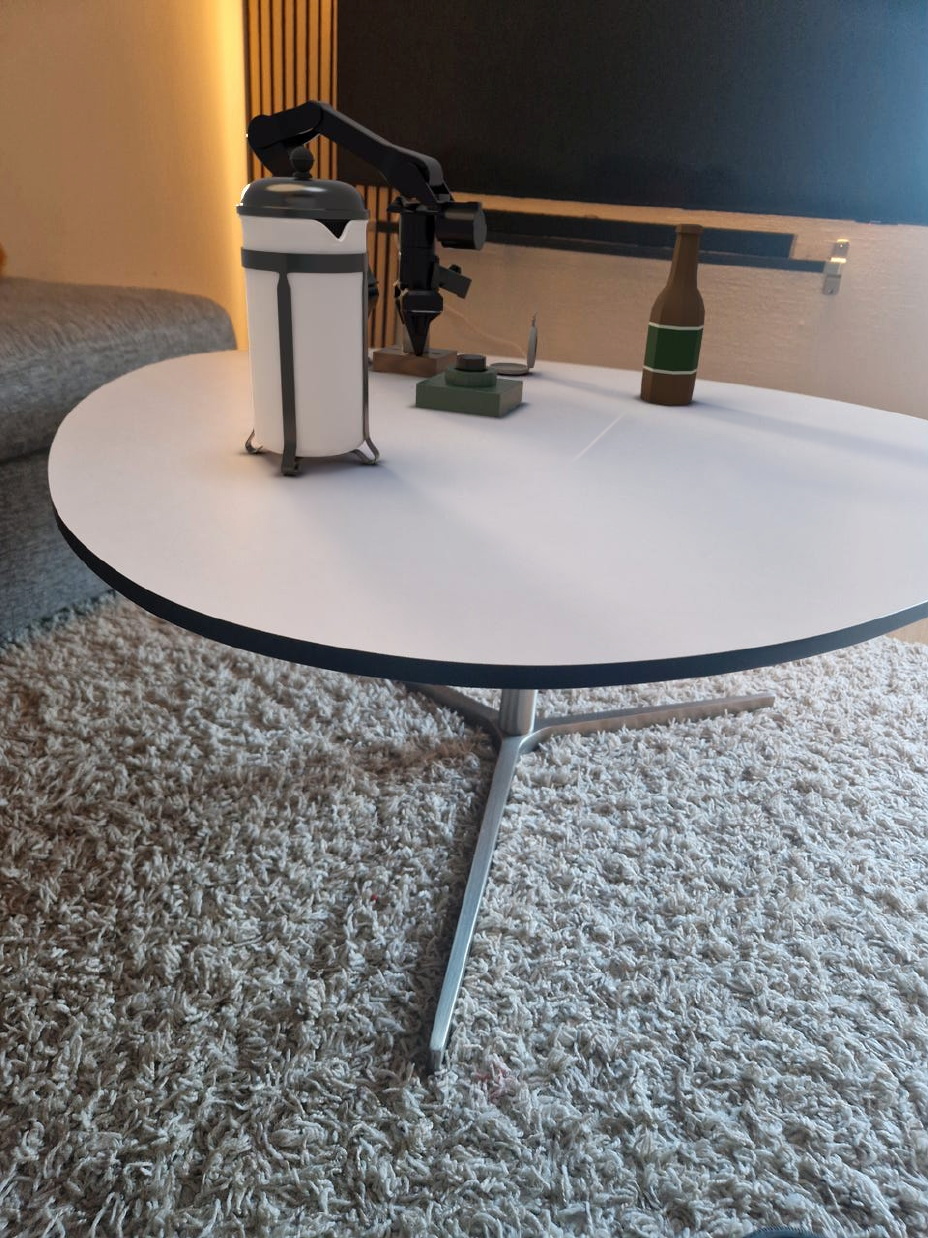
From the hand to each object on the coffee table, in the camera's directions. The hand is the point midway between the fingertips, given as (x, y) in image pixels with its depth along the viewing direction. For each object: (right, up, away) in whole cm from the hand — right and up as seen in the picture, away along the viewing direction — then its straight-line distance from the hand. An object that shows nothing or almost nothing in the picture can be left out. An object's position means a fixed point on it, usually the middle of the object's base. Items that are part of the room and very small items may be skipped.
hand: (415, 350), depth 145 cm
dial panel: (0, -3, +1) cm, 3 cm away
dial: (0, 0, 0) cm, 0 cm away
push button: (+9, -10, -23) cm, 26 cm away
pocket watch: (+16, -3, +3) cm, 17 cm away
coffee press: (-10, -26, -47) cm, 54 cm away
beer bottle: (+38, -11, -12) cm, 41 cm away
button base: (+9, -14, -21) cm, 27 cm away
